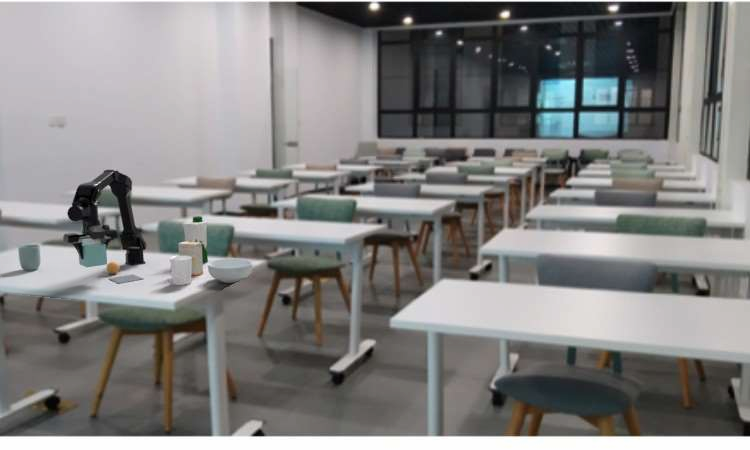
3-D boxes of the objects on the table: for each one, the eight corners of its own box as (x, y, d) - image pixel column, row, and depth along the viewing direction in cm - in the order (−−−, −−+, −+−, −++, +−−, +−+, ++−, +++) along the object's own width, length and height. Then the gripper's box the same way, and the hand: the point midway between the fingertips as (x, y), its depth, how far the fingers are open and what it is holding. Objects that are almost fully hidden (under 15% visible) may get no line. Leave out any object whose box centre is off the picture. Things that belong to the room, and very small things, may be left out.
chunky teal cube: (99, 261, 257) (98, 241, 256) (107, 264, 251) (105, 244, 250) (79, 264, 252) (77, 244, 250) (86, 267, 246) (85, 247, 245)
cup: (45, 267, 277) (43, 244, 276) (34, 272, 270) (32, 248, 268) (27, 267, 278) (25, 244, 276) (16, 271, 270) (14, 247, 269)
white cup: (173, 280, 256) (172, 255, 254) (194, 280, 256) (193, 255, 255) (169, 285, 248) (168, 260, 246) (190, 285, 249) (189, 259, 247)
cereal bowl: (209, 287, 247) (208, 268, 246) (207, 276, 262) (207, 259, 261) (254, 284, 251) (254, 266, 250) (250, 274, 267) (250, 257, 266)
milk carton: (210, 261, 290) (209, 216, 287) (198, 265, 282) (196, 219, 279) (194, 259, 294) (192, 215, 290) (181, 263, 285) (179, 218, 282)
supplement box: (203, 273, 268) (202, 242, 266) (196, 276, 263) (195, 244, 261) (186, 271, 271) (185, 240, 268) (179, 274, 266) (178, 242, 264)
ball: (117, 271, 270) (116, 260, 270) (122, 273, 267) (121, 261, 266) (104, 273, 267) (104, 261, 266) (109, 275, 263) (109, 263, 263)
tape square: (132, 274, 265) (132, 274, 265) (143, 279, 258) (143, 278, 258) (108, 278, 258) (108, 278, 258) (118, 283, 251) (118, 283, 251)
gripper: (72, 222, 237) (75, 264, 239) (123, 217, 249) (125, 257, 252) (61, 219, 244) (64, 260, 247) (111, 214, 257) (113, 253, 260)
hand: (92, 257), depth 251 cm, fingers closed on chunky teal cube, 8 cm apart
